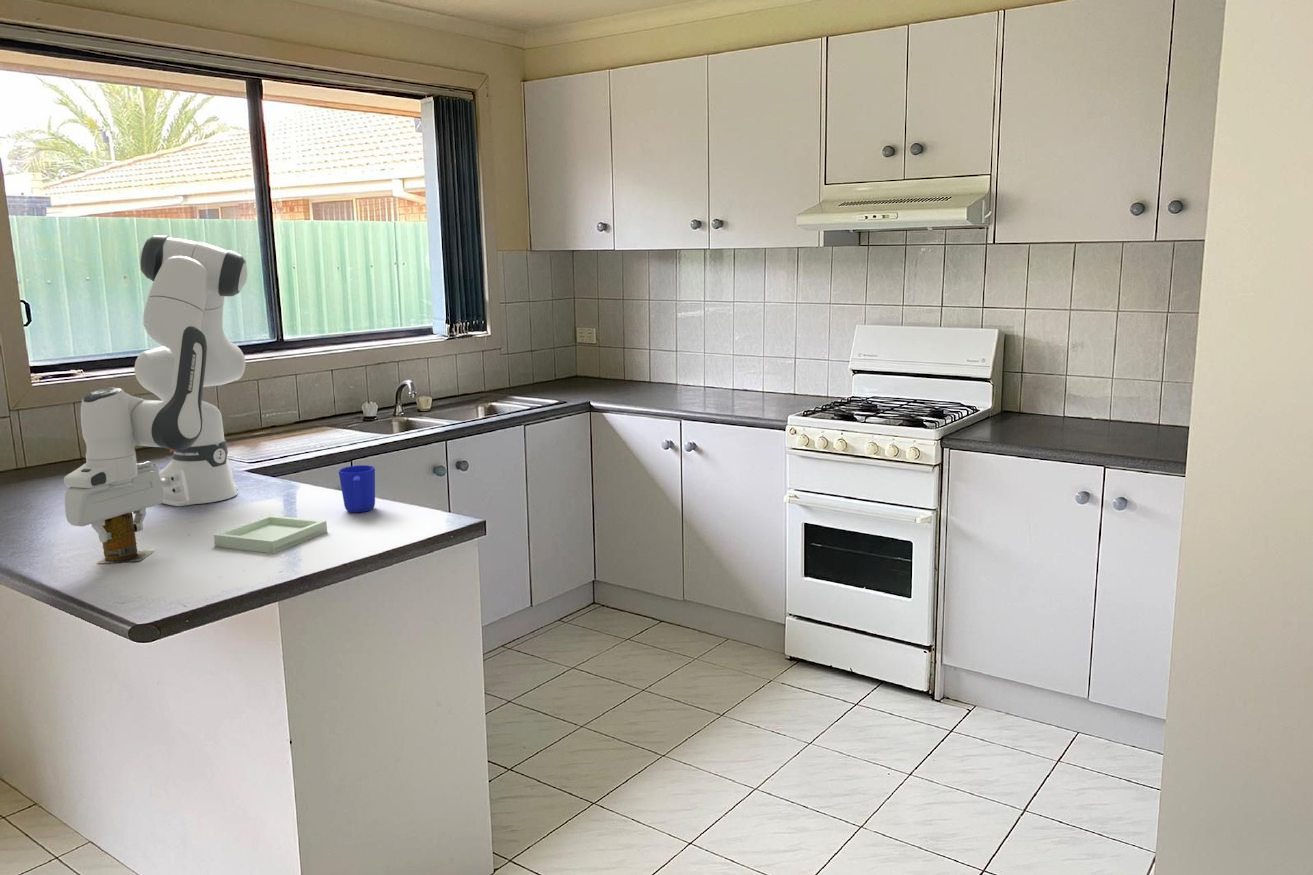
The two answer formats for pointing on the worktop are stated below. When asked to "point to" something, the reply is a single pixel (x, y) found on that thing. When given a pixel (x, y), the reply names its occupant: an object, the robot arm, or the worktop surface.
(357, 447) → the worktop surface
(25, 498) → the worktop surface
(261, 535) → the tray
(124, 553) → the condiment
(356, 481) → the mug
